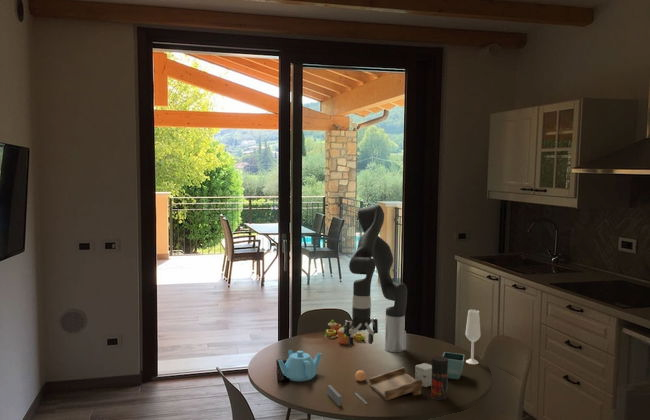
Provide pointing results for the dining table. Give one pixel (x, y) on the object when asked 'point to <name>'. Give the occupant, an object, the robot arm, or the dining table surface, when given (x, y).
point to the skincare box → (424, 373)
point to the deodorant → (439, 377)
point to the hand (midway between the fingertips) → (360, 344)
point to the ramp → (395, 384)
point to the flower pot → (454, 364)
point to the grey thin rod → (361, 398)
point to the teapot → (300, 366)
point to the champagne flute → (473, 332)
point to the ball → (360, 375)
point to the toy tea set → (341, 333)
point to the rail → (334, 395)
